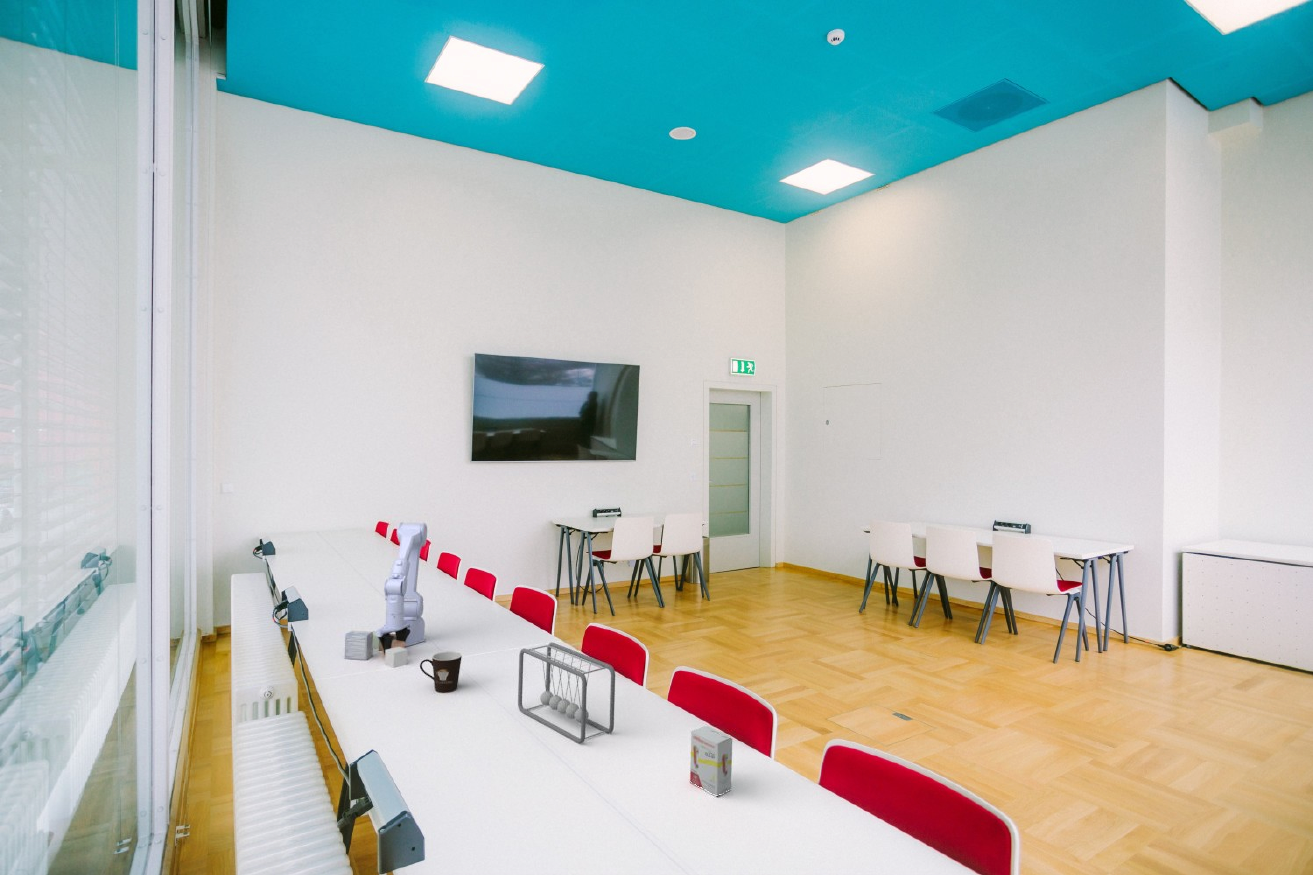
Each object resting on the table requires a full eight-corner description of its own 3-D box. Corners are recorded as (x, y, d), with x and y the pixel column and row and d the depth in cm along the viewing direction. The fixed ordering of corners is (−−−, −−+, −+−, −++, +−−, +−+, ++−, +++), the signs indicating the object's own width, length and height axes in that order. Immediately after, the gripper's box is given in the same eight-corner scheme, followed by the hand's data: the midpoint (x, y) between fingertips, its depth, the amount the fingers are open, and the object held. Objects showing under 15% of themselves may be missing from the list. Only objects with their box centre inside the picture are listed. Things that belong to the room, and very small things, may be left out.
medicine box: (372, 656, 234) (373, 631, 235) (366, 660, 230) (367, 634, 230) (351, 655, 235) (352, 630, 235) (344, 659, 231) (344, 633, 231)
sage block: (373, 644, 248) (373, 631, 248) (387, 645, 248) (387, 631, 248) (367, 648, 243) (368, 634, 243) (382, 649, 243) (382, 635, 243)
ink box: (688, 782, 152) (689, 729, 152) (704, 776, 156) (705, 724, 156) (716, 798, 146) (717, 742, 146) (731, 790, 149) (733, 736, 149)
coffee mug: (466, 687, 208) (467, 654, 208) (447, 696, 200) (448, 662, 200) (437, 680, 213) (438, 648, 213) (417, 689, 205) (418, 655, 205)
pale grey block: (398, 661, 230) (399, 646, 230) (407, 664, 227) (407, 649, 227) (385, 664, 226) (385, 649, 227) (393, 668, 223) (393, 652, 223)
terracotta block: (394, 653, 238) (394, 639, 238) (404, 656, 236) (404, 641, 236) (382, 657, 234) (383, 642, 234) (392, 660, 231) (393, 645, 231)
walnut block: (387, 647, 246) (387, 633, 246) (399, 648, 245) (400, 634, 245) (378, 651, 241) (379, 636, 241) (391, 652, 240) (391, 638, 240)
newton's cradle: (516, 710, 191) (518, 647, 191) (547, 701, 198) (549, 640, 198) (582, 746, 169) (584, 675, 169) (614, 735, 176) (616, 666, 177)
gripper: (402, 607, 243) (401, 645, 243) (369, 616, 230) (368, 656, 230) (417, 610, 240) (416, 648, 240) (384, 619, 227) (383, 659, 227)
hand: (393, 652), depth 235 cm, fingers closed on terracotta block, 5 cm apart
